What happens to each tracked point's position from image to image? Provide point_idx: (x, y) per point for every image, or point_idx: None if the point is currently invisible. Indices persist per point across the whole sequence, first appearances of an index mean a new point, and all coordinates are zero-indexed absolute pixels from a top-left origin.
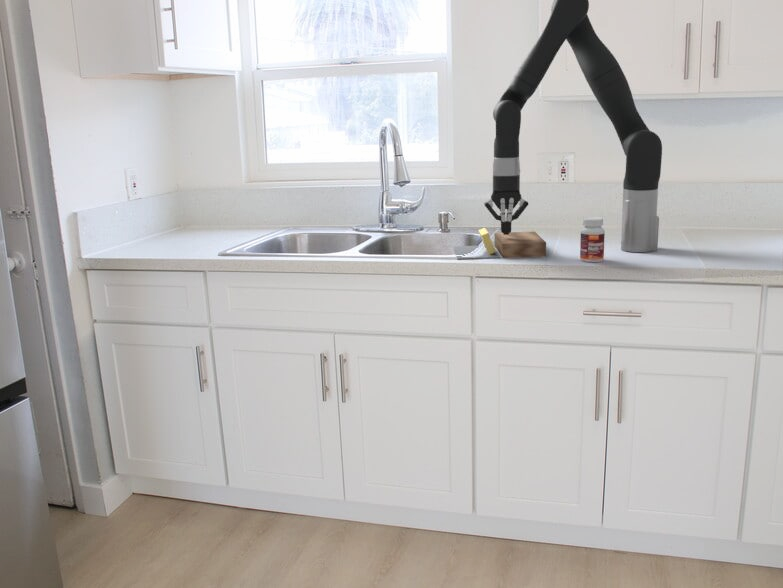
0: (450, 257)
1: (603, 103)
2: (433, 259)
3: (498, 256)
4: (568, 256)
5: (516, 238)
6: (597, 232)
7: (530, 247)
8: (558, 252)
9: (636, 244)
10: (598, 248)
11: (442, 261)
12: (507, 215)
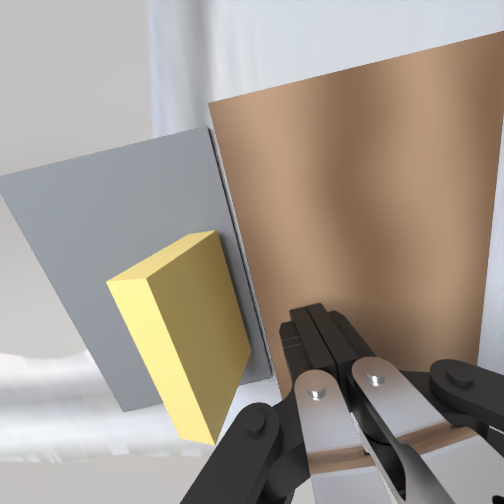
0: (85, 382)
1: None
2: (36, 414)
3: (263, 372)
4: (499, 329)
5: (355, 306)
6: None
7: None
8: (488, 266)
9: None
10: None
11: (83, 435)
12: (385, 421)
